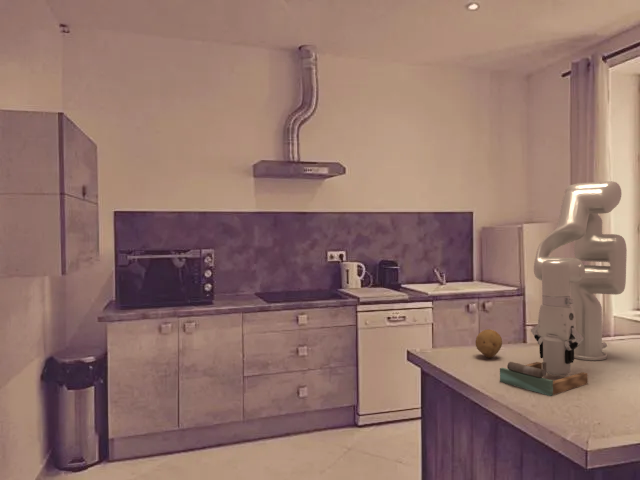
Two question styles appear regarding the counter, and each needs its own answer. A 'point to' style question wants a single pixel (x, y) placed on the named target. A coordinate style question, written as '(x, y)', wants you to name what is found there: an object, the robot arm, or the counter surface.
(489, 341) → the natural sponge
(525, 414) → the counter surface
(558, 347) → the can
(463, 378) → the counter surface
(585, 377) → the bay
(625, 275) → the robot arm
